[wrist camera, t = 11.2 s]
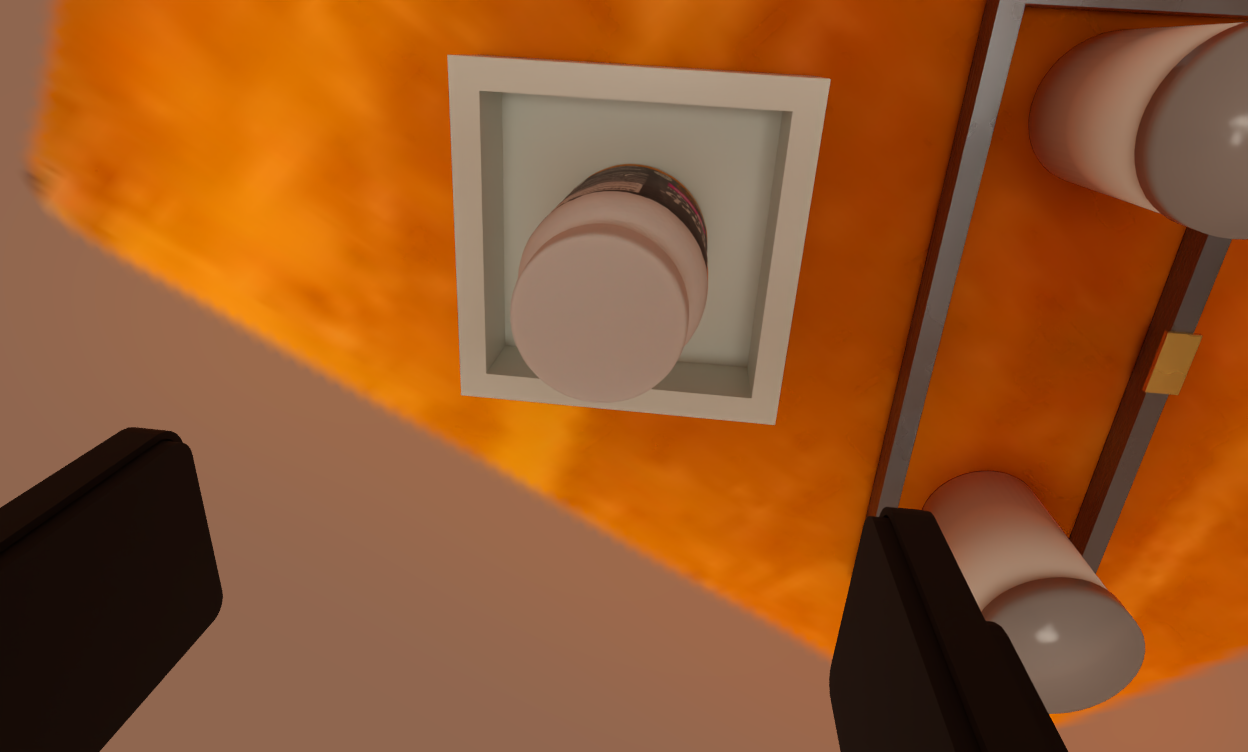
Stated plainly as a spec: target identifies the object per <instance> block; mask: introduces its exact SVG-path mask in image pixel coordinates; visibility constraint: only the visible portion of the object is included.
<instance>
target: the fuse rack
mask: <svg viewBox="0 0 1248 752" xmlns="http://www.w3.org/2000/svg"><path fill="white" fill-rule="evenodd" d="M1024 7H1043V8H1061V9H1079V10H1097V11H1115V12H1133V13H1151V14H1169V15H1187V16H1205V17H1223V18H1241V19H1248V0H987V2H986V6H985V10H984V14H983V19H982V23H981V27H980V32H979V36H978V40H977V44H976V49H975V53H974V57H973V62H972V66H971V70H970V74H969V79H968V83H967V87H966V92H965V96H964V100H963V104H962V109H961V113H960V117H959V122H958V126H957V130H956V134H955V139H954V143H953V147H952V151H951V156H950V160H949V164H948V169H947V173H946V177H945V181H944V186H943V190H942V194H941V199H940V203H939V207H938V211H937V216H936V220H935V224H934V229H933V233H932V237H931V241H930V246H929V250H928V254H927V259H926V263H925V267H924V271H923V276H922V280H921V284H920V289H919V293H918V297H917V301H916V306H915V310H914V314H913V318H912V323H911V327H910V331H909V336H908V340H907V344H906V348H905V353H904V357H903V361H902V366H901V370H900V374H899V378H898V383H897V387H896V391H895V396H894V400H893V404H892V408H891V413H890V417H889V421H888V426H887V430H886V434H885V438H884V443H883V447H882V451H881V456H880V460H879V464H878V468H877V473H876V477H875V481H874V485H873V490H872V494H871V498H870V503H869V507H868V511H867V515H866V518H867V517H868V516H875V517H879V516H880V513H881V511H882V509H883V508H885V507H895V508H898V504H899V500H900V497H901V493H902V489H903V485H904V481H905V477H906V473H907V469H908V465H909V461H910V457H911V453H912V449H913V445H914V441H915V437H916V433H917V429H918V426H919V422H920V418H921V414H922V410H923V406H924V402H925V398H926V394H927V390H928V386H929V382H930V378H931V374H932V370H933V366H934V362H935V358H936V355H937V351H938V347H939V343H940V339H941V335H942V331H943V327H944V323H945V319H946V315H947V311H948V307H949V303H950V299H951V295H952V291H953V287H954V284H955V280H956V276H957V272H958V268H959V264H960V260H961V256H962V252H963V248H964V244H965V240H966V236H967V232H968V228H969V224H970V220H971V216H972V213H973V209H974V205H975V201H976V197H977V193H978V189H979V185H980V181H981V177H982V173H983V169H984V165H985V161H986V157H987V153H988V149H989V145H990V142H991V138H992V134H993V130H994V126H995V122H996V118H997V114H998V110H999V106H1000V102H1001V98H1002V94H1003V90H1004V86H1005V82H1006V78H1007V74H1008V71H1009V67H1010V63H1011V59H1012V55H1013V51H1014V47H1015V43H1016V39H1017V35H1018V31H1019V27H1020V23H1021V19H1022V15H1023V11H1024ZM1231 240H1232V239H1228V238H1221V237H1216V236H1212V235H1209V234H1205V233H1202V232H1199V231H1197V230H1194V229H1191V228H1188V227H1187V230H1186V232H1185V235H1184V237H1183V240H1182V243H1181V245H1180V248H1179V251H1178V253H1177V256H1176V259H1175V261H1174V264H1173V267H1172V269H1171V272H1170V274H1169V277H1168V280H1167V282H1166V285H1165V288H1164V290H1163V293H1162V296H1161V298H1160V301H1159V304H1158V306H1157V309H1156V311H1155V314H1154V317H1153V319H1152V322H1151V325H1150V327H1149V330H1148V333H1147V335H1146V338H1145V340H1144V343H1143V346H1142V348H1141V351H1140V354H1139V356H1138V359H1137V362H1136V364H1135V367H1134V370H1133V372H1132V375H1131V377H1130V380H1129V383H1128V385H1127V388H1126V391H1125V393H1124V396H1123V399H1122V401H1121V404H1120V407H1119V409H1118V412H1117V414H1116V417H1115V420H1114V422H1113V425H1112V428H1111V430H1110V433H1109V436H1108V438H1107V441H1106V444H1105V446H1104V449H1103V451H1102V454H1101V457H1100V459H1099V462H1098V465H1097V467H1096V470H1095V473H1094V475H1093V478H1092V481H1091V483H1090V486H1089V488H1088V491H1087V494H1086V496H1085V499H1084V502H1083V504H1082V507H1081V510H1080V512H1079V515H1078V517H1077V520H1076V523H1075V525H1074V528H1073V531H1072V533H1071V536H1070V539H1069V540H1070V541H1071V542H1072V544H1073V545H1074V546H1075V548H1076V549H1077V550H1078V552H1079V553H1080V554H1081V556H1082V557H1083V558H1084V560H1085V561H1086V562H1087V564H1088V565H1089V566H1090V568H1091V569H1092V570H1093V572H1094V573H1095V574H1096V572H1097V569H1098V567H1099V564H1100V562H1101V559H1102V557H1103V555H1104V552H1105V550H1106V547H1107V545H1108V542H1109V540H1110V537H1111V535H1112V532H1113V530H1114V528H1115V525H1116V523H1117V520H1118V518H1119V515H1120V513H1121V510H1122V508H1123V505H1124V503H1125V500H1126V498H1127V496H1128V493H1129V491H1130V488H1131V486H1132V483H1133V481H1134V478H1135V476H1136V473H1137V471H1138V469H1139V466H1140V464H1141V461H1142V459H1143V456H1144V454H1145V451H1146V449H1147V446H1148V444H1149V441H1150V439H1151V437H1152V434H1153V432H1154V429H1155V427H1156V424H1157V422H1158V419H1159V417H1160V414H1161V412H1162V410H1163V407H1164V405H1165V402H1166V400H1167V397H1168V395H1169V394H1172V395H1178V394H1179V392H1180V389H1181V387H1182V385H1183V382H1184V380H1185V377H1186V375H1187V372H1188V370H1189V368H1190V365H1191V363H1192V360H1193V358H1194V355H1195V353H1196V351H1197V348H1198V346H1199V343H1200V341H1201V339H1202V336H1203V335H1201V334H1197V333H1194V331H1195V328H1196V326H1197V323H1198V321H1199V319H1200V316H1201V314H1202V311H1203V309H1204V306H1205V304H1206V301H1207V299H1208V296H1209V294H1210V291H1211V289H1212V287H1213V284H1214V282H1215V279H1216V277H1217V274H1218V272H1219V269H1220V267H1221V264H1222V262H1223V260H1224V257H1225V255H1226V252H1227V250H1228V247H1229V245H1230V242H1231Z"/></svg>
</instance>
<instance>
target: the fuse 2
mask: <svg viewBox="0 0 1248 752" xmlns="http://www.w3.org/2000/svg"><path fill="white" fill-rule="evenodd" d="M923 510H924V511H929V512H931V513H932V514H933V515H934V517H935V519H936V521H937V523H938V525H939V527H940V529H941V531H942V533H943V535H944V537H945V539H946V541H947V543H948V545H949V547H950V549H951V551H952V553H953V555H954V557H955V559H956V561H957V563H958V565H959V568H960V570H961V572H962V574H963V576H964V578H965V580H966V582H967V584H968V586H969V588H970V590H971V592H972V594H973V596H974V598H975V600H976V602H977V604H978V606H979V608H980V610H981V612H982V614H983V616H984V618H985V620H986V621H992V622H995V623H997V624H999V625H1000V626H1002V628H1003V629H1004V631H1005V632H1006V633H1007V635H1008V636H1009V638H1010V640H1011V642H1012V644H1013V646H1014V648H1015V650H1016V652H1017V654H1018V656H1019V658H1020V660H1021V661H1022V663H1023V665H1024V667H1025V669H1026V671H1027V673H1028V675H1029V677H1030V679H1031V681H1032V683H1033V685H1034V687H1035V689H1036V690H1037V692H1038V694H1039V696H1040V698H1041V700H1042V702H1043V704H1044V706H1045V708H1046V710H1047V712H1048V714H1056V713H1068V712H1074V711H1079V710H1083V709H1086V708H1090V707H1092V706H1095V705H1097V704H1100V703H1102V702H1104V701H1106V700H1108V699H1110V698H1111V697H1113V696H1114V695H1116V694H1117V693H1119V692H1120V691H1121V690H1122V689H1124V688H1125V687H1126V686H1127V685H1128V684H1129V683H1130V682H1131V681H1132V679H1133V678H1134V677H1135V676H1136V674H1137V673H1138V671H1139V669H1140V667H1141V665H1142V662H1143V659H1144V654H1145V642H1144V637H1143V634H1142V632H1141V629H1140V628H1139V626H1138V625H1137V623H1136V622H1135V620H1134V619H1133V618H1132V616H1131V615H1130V614H1129V613H1128V611H1127V610H1126V609H1125V607H1124V606H1123V605H1122V603H1121V602H1120V601H1119V600H1118V599H1117V598H1116V597H1115V595H1113V594H1112V593H1111V592H1109V591H1108V590H1107V589H1106V587H1105V586H1104V585H1103V583H1102V582H1101V581H1100V579H1099V578H1098V577H1097V576H1096V574H1095V573H1094V572H1093V570H1092V569H1091V568H1090V566H1089V565H1088V564H1087V562H1086V561H1085V560H1084V558H1083V557H1082V556H1081V554H1080V553H1079V552H1078V550H1077V549H1076V548H1075V546H1074V545H1073V544H1072V542H1071V541H1070V540H1069V539H1068V537H1067V536H1066V535H1065V533H1064V532H1063V531H1062V529H1061V528H1060V527H1059V525H1058V524H1057V523H1056V521H1055V520H1054V519H1053V517H1052V516H1051V515H1050V513H1049V512H1048V511H1047V509H1046V508H1045V507H1044V505H1043V504H1042V503H1041V502H1040V500H1039V499H1038V498H1037V496H1036V495H1035V494H1034V492H1033V491H1032V490H1031V489H1030V488H1029V486H1028V485H1026V484H1025V483H1024V482H1023V481H1021V480H1019V479H1018V478H1016V477H1014V476H1011V475H1009V474H1005V473H1001V472H995V471H979V472H972V473H968V474H964V475H961V476H958V477H956V478H954V479H952V480H950V481H948V482H946V483H945V484H943V485H942V486H940V487H939V488H938V489H937V490H936V491H935V492H934V493H933V494H932V495H931V496H930V497H929V499H928V500H927V502H926V503H925V505H924V507H923Z"/></svg>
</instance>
